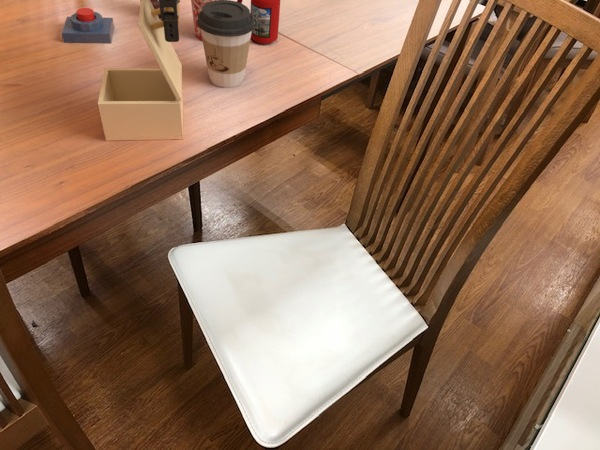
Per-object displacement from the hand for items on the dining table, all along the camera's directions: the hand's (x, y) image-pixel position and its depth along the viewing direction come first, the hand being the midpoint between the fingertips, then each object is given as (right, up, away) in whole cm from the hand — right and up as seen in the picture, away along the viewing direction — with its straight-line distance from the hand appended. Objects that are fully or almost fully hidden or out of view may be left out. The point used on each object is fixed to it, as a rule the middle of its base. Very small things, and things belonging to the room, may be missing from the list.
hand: (172, 30), depth 84 cm
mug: (+1, +14, +38) cm, 40 cm away
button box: (-27, +12, +32) cm, 43 cm away
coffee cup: (+5, -1, +25) cm, 25 cm away
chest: (-8, -13, +12) cm, 19 cm away
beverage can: (+12, +13, +39) cm, 43 cm away
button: (-27, +14, +29) cm, 42 cm away
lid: (-3, -2, +2) cm, 4 cm away
